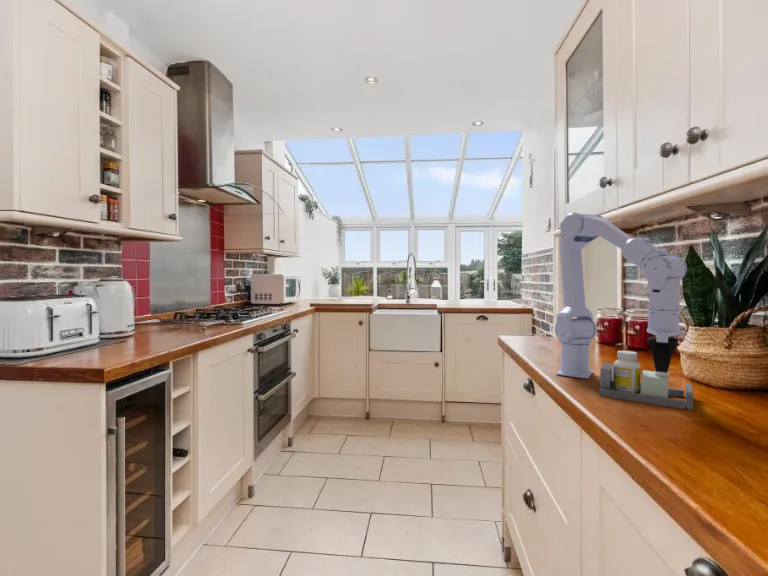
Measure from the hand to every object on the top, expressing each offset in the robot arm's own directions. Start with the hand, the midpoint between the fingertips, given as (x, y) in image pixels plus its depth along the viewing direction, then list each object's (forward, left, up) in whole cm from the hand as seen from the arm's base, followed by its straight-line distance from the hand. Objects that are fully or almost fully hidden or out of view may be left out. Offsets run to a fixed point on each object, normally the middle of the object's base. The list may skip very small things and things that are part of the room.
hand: (661, 370), depth 93 cm
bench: (0, -3, -6) cm, 7 cm away
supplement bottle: (0, -7, -7) cm, 9 cm away
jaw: (0, -1, -6) cm, 6 cm away
